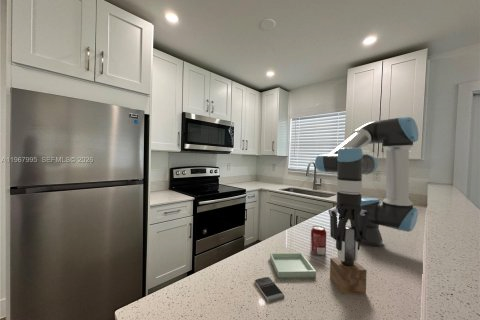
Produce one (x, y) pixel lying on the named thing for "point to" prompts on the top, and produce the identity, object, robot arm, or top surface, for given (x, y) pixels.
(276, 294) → the cell phone
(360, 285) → the walnut block
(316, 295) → the top surface
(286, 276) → the tray
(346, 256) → the cylinder
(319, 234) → the soda can
